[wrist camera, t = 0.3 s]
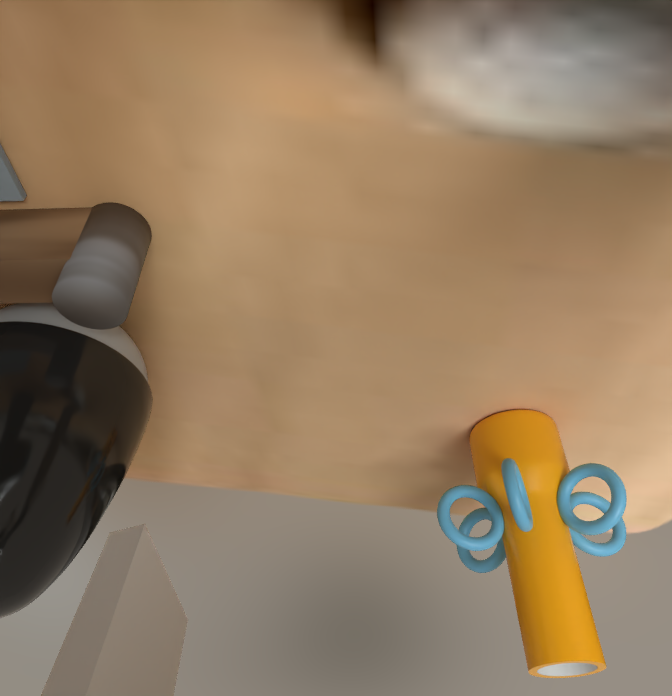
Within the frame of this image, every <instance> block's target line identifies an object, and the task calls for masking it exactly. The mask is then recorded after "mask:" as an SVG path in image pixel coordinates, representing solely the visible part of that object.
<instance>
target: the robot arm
mask: <svg viewBox="0 0 672 696" xmlns="http://www.w3.org/2000/svg"><path fill="white" fill-rule="evenodd" d="M187 621H188V619H187V617H186V615H185V612H184V610H183V608H182V606H181V603H180V601H179V599H178V597H177V594H176V592H175V590H174V587H173V585H172V583H171V581H170V579H169V576H168V574H167V572H166V570H165V568H164V565H163V563H162V561H161V558H160V556H159V554H158V552H157V549H156V547H155V545H154V543H153V541H152V538H151V536H150V534H149V532H148V529H147V527H146V525H145V524H142V525H138V526H134V527H130V528H126V529H122V530H119V531H115V532H111V533H110V534H109V536H108V539H107V541H106V543H105V546H104V548H103V550H102V553H101V555H100V557H99V560H98V562H97V564H96V567H95V569H94V571H93V574H92V576H91V579H90V581H89V583H88V586H87V588H86V590H85V593H84V595H83V597H82V600H81V602H80V605H79V607H78V609H77V612H76V614H75V616H74V619H73V621H72V623H71V626H70V628H69V631H68V633H67V635H66V638H65V640H64V642H63V645H62V647H61V649H60V652H59V654H58V656H57V659H56V661H55V663H54V666H53V668H52V671H51V673H50V675H49V678H48V680H47V682H46V685H45V687H44V690H43V692H42V694H41V696H173V695H174V690H175V684H176V679H177V674H178V668H179V664H180V658H181V653H182V648H183V643H184V637H185V632H186V627H187Z"/></svg>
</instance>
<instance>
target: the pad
mask: <svg viewBox="0 0 672 696" xmlns="http://www.w3.org/2000/svg"><path fill="white" fill-rule="evenodd" d="M26 196H27V195H26V193H25V191H24V189H23V187H22V185H21V183H20V181H19V179H18V177H17V175H16V173H15V171H14V169H13V167H12V165H11V163H10V161H9V160H8V158H7V156H6V154H5V152H4V150H3V148H2V146H1V144H0V201H24V199H25V198H26Z"/></svg>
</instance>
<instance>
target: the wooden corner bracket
mask: <svg viewBox="0 0 672 696" xmlns="http://www.w3.org/2000/svg"><path fill="white" fill-rule="evenodd" d="M151 237H152V233H151V228H150V226H149V224H148V222H147V221H146V220H145V218H144V217H143V216H142V215H141V214H139V213H138V212H137V211H135V210H134V209H132V208H130V207H128V206H125V205H122V204H118V203H102V204H98V205H96V206H94V207H93V208H63V209H26V210H0V304H6V303H48V302H53V304H54V306H55V308H56V309H57V310H58V312H59V313H60V314H61V315H62V316H64V317H65V318H66V319H68V320H69V321H71V322H73V323H75V324H77V325H80V326H82V327H86V328H90V329H97V330H105V329H111V328H115V327H117V326H119V325H121V324H122V323H123V322H124V321H125V320H126V318H127V315H128V312H129V309H130V306H131V302H132V299H133V296H134V293H135V290H136V286H137V283H138V280H139V277H140V273H141V270H142V267H143V264H144V261H145V257H146V254H147V251H148V248H149V245H150V241H151Z"/></svg>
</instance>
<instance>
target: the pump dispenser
mask: <svg viewBox="0 0 672 696" xmlns="http://www.w3.org/2000/svg"><path fill="white" fill-rule="evenodd" d="M152 402H153V399H152V392H151V389H150V386H149V384H148V376H147V371H146V366H145V363H144V360H143V357H142V355H141V353H140V351H139V349H138V347H137V346H136V344H135V343H134V341H133V340H132V339H131V338H130V336H129V335H128V334H127V333H126V332H125V331H124V330H123V329H122V328H121V327H120V326H117V327H115V328H111V329H105V330H97V329H90V328H86V327H82V326H80V325H77V324H75V323H73V322H71V321H69V320H68V319H66V318H65V317H64V316H62V315H61V314H60V313H59V312H58V310H57V309H56V308H55V306H54V304H53V302H48V303H16V304H13V305H10V306H7V307H4V308H2V309H0V618H2V617H5V616H8V615H11V614H13V613H15V612H17V611H19V610H21V609H22V608H24V607H26V606H27V605H29V604H30V603H31V602H33V601H34V600H35V599H36V598H38V597H39V596H40V595H41V594H42V593H43V592H44V591H45V590H46V589H47V588H48V587H49V586H50V585H51V584H52V583H53V582H54V581H55V580H56V579H57V578H58V577H59V576H60V575H61V574H62V573H63V571H64V570H65V569H66V568H67V567H68V566H69V564H70V563H71V562H72V561H73V559H74V558H75V557H76V555H77V554H78V553H79V551H80V550H81V548H82V547H83V546H84V544H85V543H86V541H87V540H88V538H89V537H90V535H91V534H92V532H93V531H94V529H95V527H96V525H97V524H98V523H99V521H100V519H101V517H102V516H103V514H104V512H105V511H106V509H107V507H108V505H109V504H110V502H111V501H112V499H113V497H114V495H115V494H116V492H117V490H118V488H119V486H120V484H121V482H122V481H123V479H124V477H125V475H126V473H127V471H128V469H129V467H130V465H131V463H132V460H133V458H134V456H135V454H136V451H137V449H138V447H139V444H140V442H141V440H142V437H143V435H144V432H145V430H146V427H147V424H148V421H149V417H150V414H151V409H152Z"/></svg>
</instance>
